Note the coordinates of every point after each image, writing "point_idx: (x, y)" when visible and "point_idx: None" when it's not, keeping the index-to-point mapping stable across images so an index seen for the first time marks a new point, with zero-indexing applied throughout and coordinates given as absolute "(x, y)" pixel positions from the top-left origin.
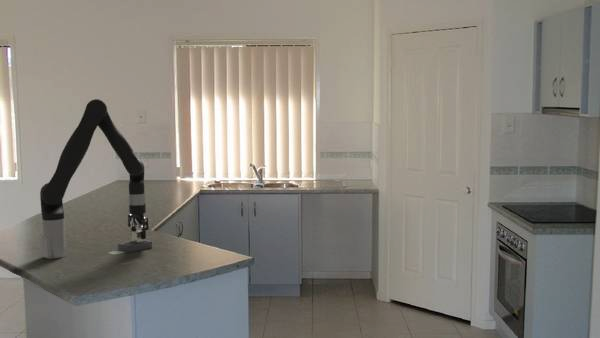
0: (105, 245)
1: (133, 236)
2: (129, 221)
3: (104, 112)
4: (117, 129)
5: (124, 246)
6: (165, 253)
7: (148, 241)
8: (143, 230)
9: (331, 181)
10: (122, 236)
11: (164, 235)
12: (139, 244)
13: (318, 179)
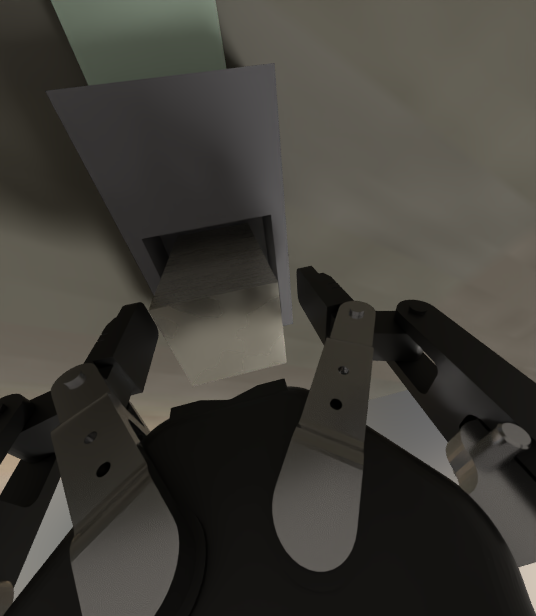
0: (510, 101)
1: (231, 264)
2: (453, 366)
3: None
4: None
5: (114, 85)
6: (27, 347)
7: None
8: (2, 398)
9: None
10: (530, 280)
11: (387, 390)
12: (139, 261)
13: None
